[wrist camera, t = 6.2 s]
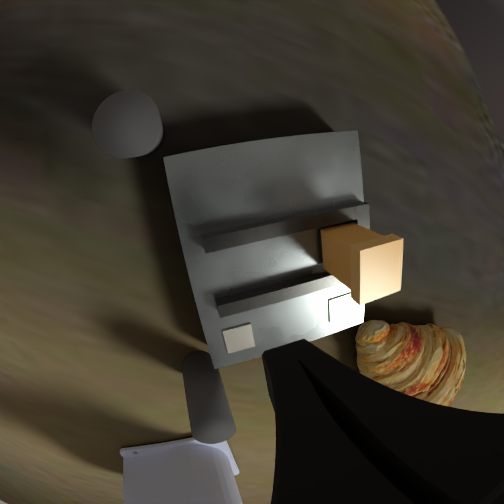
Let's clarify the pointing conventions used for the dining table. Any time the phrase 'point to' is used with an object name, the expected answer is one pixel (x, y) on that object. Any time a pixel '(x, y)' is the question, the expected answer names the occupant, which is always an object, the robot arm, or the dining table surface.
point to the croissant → (413, 359)
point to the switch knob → (363, 260)
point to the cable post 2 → (206, 400)
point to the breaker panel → (266, 238)
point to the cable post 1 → (127, 125)
